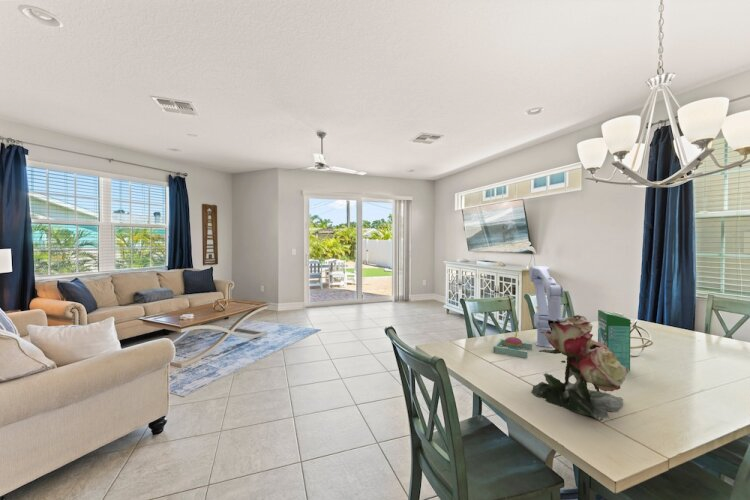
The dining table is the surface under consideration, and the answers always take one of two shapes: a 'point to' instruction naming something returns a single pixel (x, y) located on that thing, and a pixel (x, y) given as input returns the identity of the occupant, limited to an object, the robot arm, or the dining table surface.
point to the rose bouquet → (582, 370)
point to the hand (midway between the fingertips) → (554, 335)
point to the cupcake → (513, 342)
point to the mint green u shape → (512, 351)
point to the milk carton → (615, 335)
